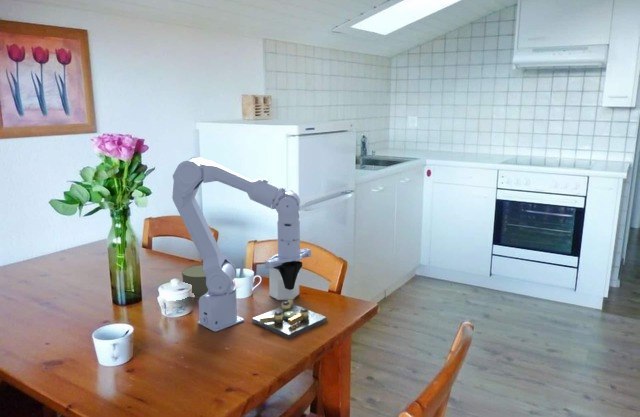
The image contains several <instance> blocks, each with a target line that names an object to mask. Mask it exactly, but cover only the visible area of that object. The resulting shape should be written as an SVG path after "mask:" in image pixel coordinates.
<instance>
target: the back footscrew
mask: <svg viewBox="0 0 640 417" xmlns="http://www.w3.org/2000/svg"><path fill="white" fill-rule="evenodd" d="M292 304H294V299H289V300H283V301H282V302H281V307H282V312H287V311H291V306H292Z"/></svg>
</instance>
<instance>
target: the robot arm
mask: <svg viewBox="0 0 640 417" xmlns="http://www.w3.org/2000/svg"><path fill="white" fill-rule="evenodd" d="M172 180H173V186H172V197H171V198H172V201H173V203H174V205H175V207H176V209H177V212H178V214H179V215H180V217H181V220H182V221H183V224H184V226H185V228H186V230H187V232H188V234H189V236H190V238H191V240H192V242H193V244H194V246H195V248H196V250H197V252H198V254H199V256H200V258H201V260H202V264H203V271H204V273H205V276H206V285H207V288H208V292H207V293H206V294H205V295H203V296H201V297H200V298H198V315H199V317H198V318H199V319H198V321H197V323H198V324H199V325H201V326H202V327H203V326H204V327H205V328H207V329H209V330H211V331H213V332H214V333H215V332H219V331H222V330H225V329H227V328H228V327H231V326H234V325H237V324H240V323H241V322H244V321H245V319H244V318H243V317H241V316H239V315H238V309H237V308H238V307H237V306H238V304H237V286H236V285H235V283H234V281H233V280H235V278H236V276H237V268H236V266H235V264H234V263H232V262H231V261H230V260H229V259H228V257H227V255H226V254H225V253H224V252H222V251H221V249H220V246H219V245H218V242H217V241H216V238H215V236H214V234H213V232H212V230H211V228H210V225H209V223H208V221H207V219H206V218H205V216H204V213H203V211H202V209H201V207H200V205H199V203H198V201H197V199H196V195H197V192H198V190H199V189H200V186H201V184H202V183H203V184H205V183H206V184H207V183H212V182H219V183H222V184H224V185H226V186H229V187H231V188H235V189H237V190H239V191H242V192H245V193H246V194H247V195H248V198H249V199H250V201H253V202H255V203H258V204H260V205H261V206H264V207H267V208H270V209H271V210H275V211H276V213H277V224H276V225H277V226H276V227H277V255H276V254H274V255H275V256H274V257H272V258H271V257H270V258H268V259H266V260H265V261H264V267H265V268H266V269H273V267H277V268H278V270H279V272H280V274H281V276H282V279H283V282H284V286H285V288H286V289H288V290H292V289H294V285H295V281H296V278H297V275H298V273H299V274H300V270H301V269H302V267H303V262H302V260H303V259H305V258H312V249H309V248H302V249H301V240H300V239H301V228H300V227H301V226H300V225H301V224H300V223H301V222H300V212H299V211H300V207H301V206H300V205H301V199H300V196H299V195H298V194H297V192H294V191H293V190H291V189H286V187H283V186H282V187H279V186H276V185H274V184H272V183H270V182H269V179H267V178H262V179H261V178H256V179H254V180H251V179H249V178H248V177H245V176H243V175H241V174H239V173H237V172H235V171H233V170H232V169H230V168H226V167H224V166H223V165H221V164H218V163H216V162H214V161H212V160H209V159H204V158H203V157H201V156H193V157H191V158H189V159H187V160H184V161H182V162H180V163H179V164H178V165H177V167H176V169H175V171H174V172H173V173H172Z"/></svg>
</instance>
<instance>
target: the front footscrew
mask: <svg viewBox="0 0 640 417" xmlns="http://www.w3.org/2000/svg"><path fill="white" fill-rule="evenodd" d="M307 319H309V309H308V308H306V307H305V308H304V307H302V309H301V310H300V314H298V315H296V316H294V317H292V318H290V319H288V324H289V325H293V324H295V323H297V322H299V321H301V320H307Z"/></svg>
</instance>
